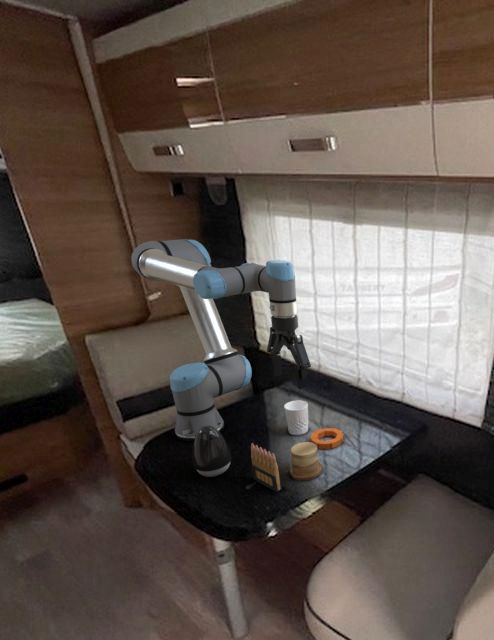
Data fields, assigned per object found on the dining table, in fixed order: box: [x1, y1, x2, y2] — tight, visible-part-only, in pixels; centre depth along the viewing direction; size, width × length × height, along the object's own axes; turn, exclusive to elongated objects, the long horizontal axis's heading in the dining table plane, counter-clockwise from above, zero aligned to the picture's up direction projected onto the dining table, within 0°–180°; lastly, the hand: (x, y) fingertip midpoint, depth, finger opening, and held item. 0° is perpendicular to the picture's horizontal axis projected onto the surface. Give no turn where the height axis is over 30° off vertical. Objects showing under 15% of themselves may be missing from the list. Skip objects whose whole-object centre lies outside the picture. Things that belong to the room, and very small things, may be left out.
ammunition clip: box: [250, 442, 283, 493], centre depth 117 cm, size 11×2×12 cm, turn 56°
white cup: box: [283, 399, 309, 436], centre depth 145 cm, size 8×8×10 cm
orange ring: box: [309, 427, 344, 450], centre depth 141 cm, size 10×10×2 cm
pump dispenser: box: [192, 425, 232, 478], centre depth 121 cm, size 10×10×15 cm
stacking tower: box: [289, 441, 323, 482], centre depth 123 cm, size 9×9×8 cm
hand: (290, 381), depth 131 cm, fingers open, 13 cm apart
